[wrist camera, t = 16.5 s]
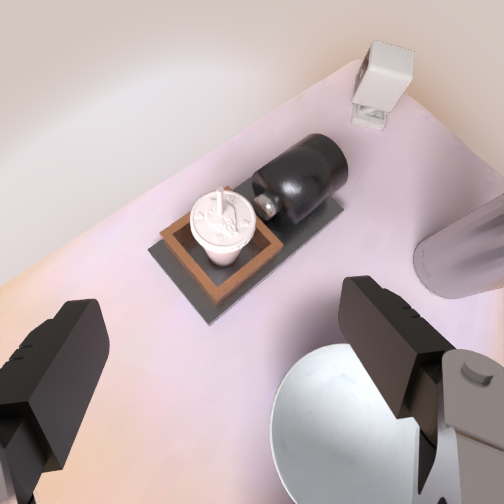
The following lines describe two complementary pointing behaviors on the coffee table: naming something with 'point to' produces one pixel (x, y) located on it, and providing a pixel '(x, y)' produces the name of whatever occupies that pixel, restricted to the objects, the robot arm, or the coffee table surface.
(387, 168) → the coffee table surface
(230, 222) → the smoothie
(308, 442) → the chinaware
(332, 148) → the motor mount
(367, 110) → the security camera
